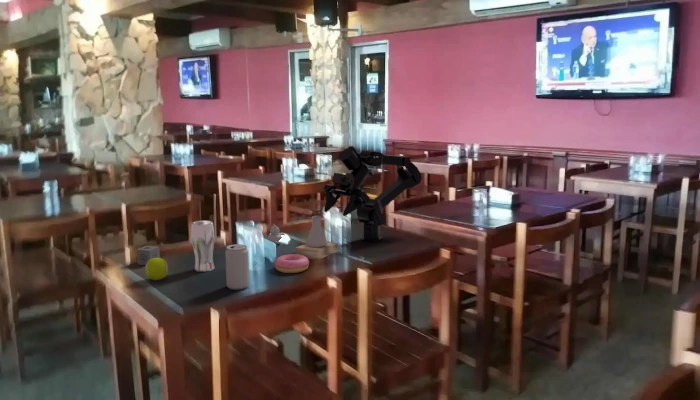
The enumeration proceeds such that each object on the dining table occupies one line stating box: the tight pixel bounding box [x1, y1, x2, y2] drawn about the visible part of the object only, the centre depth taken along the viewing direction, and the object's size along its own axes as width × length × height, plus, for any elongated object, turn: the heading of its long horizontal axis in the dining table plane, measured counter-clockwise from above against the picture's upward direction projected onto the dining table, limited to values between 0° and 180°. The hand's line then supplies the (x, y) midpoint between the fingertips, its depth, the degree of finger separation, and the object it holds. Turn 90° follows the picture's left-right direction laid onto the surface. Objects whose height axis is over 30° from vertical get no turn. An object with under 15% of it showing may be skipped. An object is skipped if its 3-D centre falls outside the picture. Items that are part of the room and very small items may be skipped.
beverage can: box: [224, 243, 250, 291], centre depth 168 cm, size 6×6×12 cm
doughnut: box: [273, 253, 310, 274], centre depth 186 cm, size 11×11×4 cm
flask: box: [305, 215, 328, 247], centre depth 202 cm, size 7×7×10 cm
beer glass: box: [190, 219, 215, 273], centre depth 185 cm, size 7×7×15 cm
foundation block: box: [295, 241, 339, 261], centre depth 203 cm, size 12×9×3 cm
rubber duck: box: [267, 223, 285, 245], centre depth 216 cm, size 5×7×8 cm
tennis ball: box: [144, 257, 169, 281], centre depth 176 cm, size 7×7×7 cm
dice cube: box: [136, 245, 161, 266], centre depth 193 cm, size 5×5×5 cm
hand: (334, 213), depth 207 cm, fingers open, 9 cm apart
